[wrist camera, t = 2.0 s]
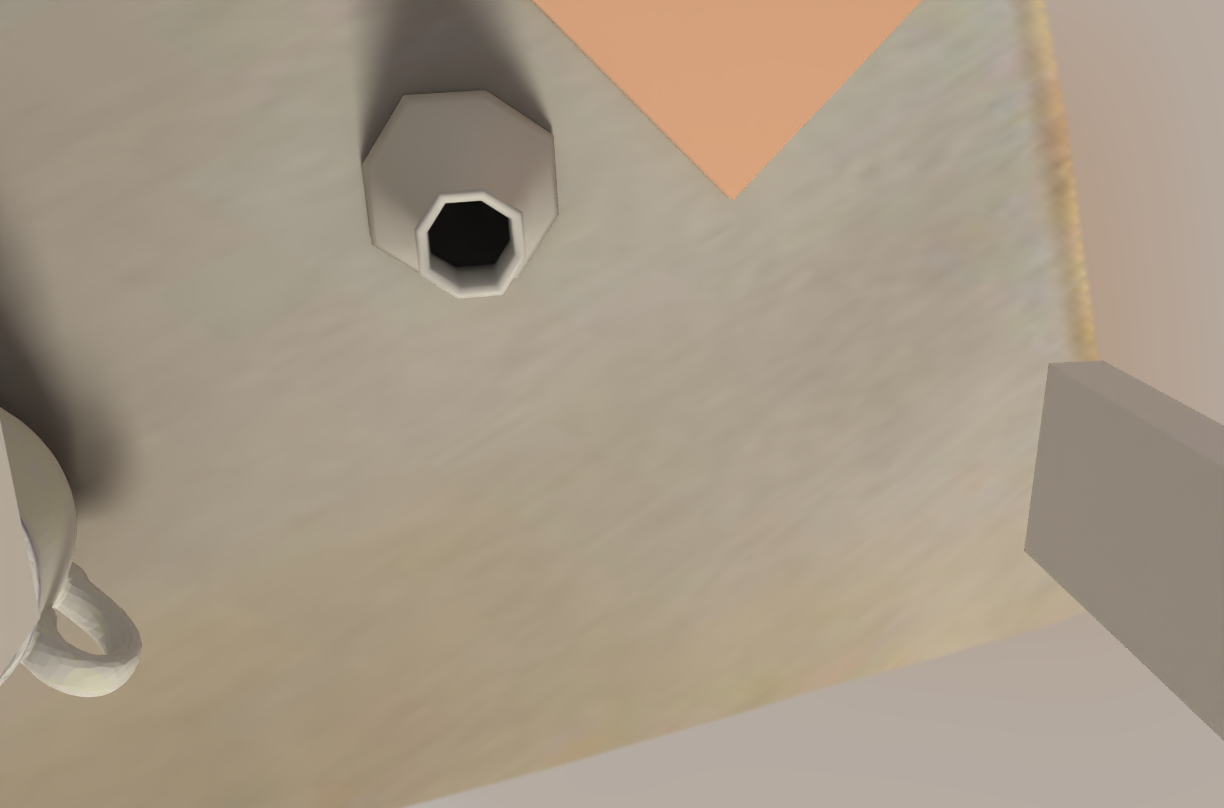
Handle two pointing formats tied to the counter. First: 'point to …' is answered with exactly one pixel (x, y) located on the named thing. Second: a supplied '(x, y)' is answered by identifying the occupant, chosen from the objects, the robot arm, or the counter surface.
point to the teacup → (62, 579)
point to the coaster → (728, 67)
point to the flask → (461, 190)
